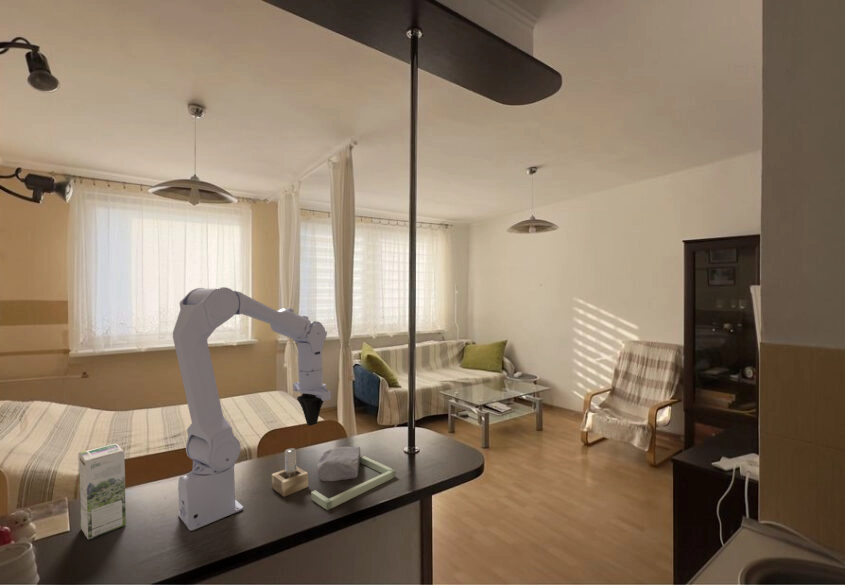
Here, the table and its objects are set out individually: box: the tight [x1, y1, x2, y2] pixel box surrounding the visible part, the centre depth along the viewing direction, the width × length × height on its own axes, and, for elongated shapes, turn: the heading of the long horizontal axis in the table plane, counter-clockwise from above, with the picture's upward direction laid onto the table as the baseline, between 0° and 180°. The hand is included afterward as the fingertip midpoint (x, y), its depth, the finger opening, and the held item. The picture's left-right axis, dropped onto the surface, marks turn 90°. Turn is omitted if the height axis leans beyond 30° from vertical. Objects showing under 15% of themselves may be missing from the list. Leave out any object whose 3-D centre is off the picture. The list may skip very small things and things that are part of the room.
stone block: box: [316, 446, 361, 482], centre depth 95 cm, size 12×5×10 cm
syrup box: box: [77, 443, 127, 541], centre depth 73 cm, size 6×6×14 cm
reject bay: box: [310, 455, 397, 511], centre depth 88 cm, size 18×12×2 cm, turn 136°
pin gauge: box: [284, 447, 298, 479], centre depth 87 cm, size 2×2×8 cm
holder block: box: [271, 466, 309, 498], centre depth 86 cm, size 6×6×3 cm
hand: (312, 424), depth 98 cm, fingers closed
